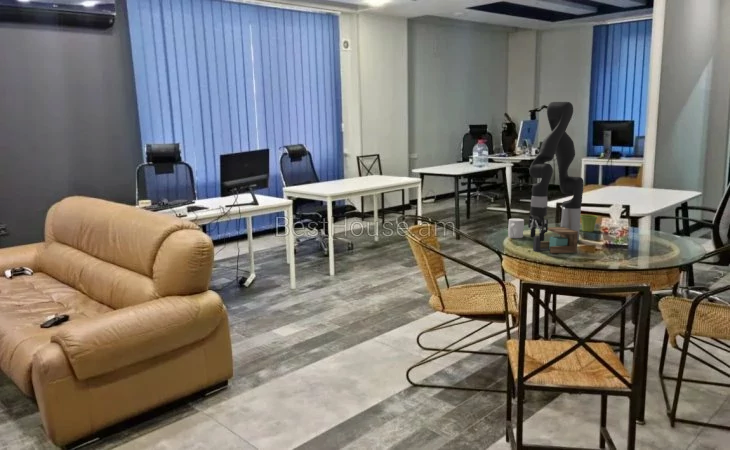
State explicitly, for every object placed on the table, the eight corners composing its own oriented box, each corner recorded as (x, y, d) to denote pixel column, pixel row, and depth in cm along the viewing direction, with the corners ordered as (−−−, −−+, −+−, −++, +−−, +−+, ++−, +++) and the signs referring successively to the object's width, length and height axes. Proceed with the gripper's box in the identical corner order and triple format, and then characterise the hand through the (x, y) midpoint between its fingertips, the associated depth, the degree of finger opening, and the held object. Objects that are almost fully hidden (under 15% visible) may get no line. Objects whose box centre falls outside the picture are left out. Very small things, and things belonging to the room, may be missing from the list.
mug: (512, 217, 307) (526, 219, 303) (511, 234, 309) (525, 235, 305) (504, 220, 298) (519, 222, 293) (503, 238, 299) (518, 239, 295)
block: (531, 249, 271) (532, 235, 270) (560, 248, 274) (561, 234, 272) (537, 252, 265) (538, 238, 264) (567, 251, 268) (567, 236, 267)
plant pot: (575, 230, 321) (576, 215, 319) (589, 229, 323) (590, 214, 322) (586, 233, 312) (587, 217, 310) (600, 232, 315) (601, 216, 313)
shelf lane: (538, 247, 275) (539, 227, 273) (562, 246, 277) (563, 226, 276) (551, 253, 263) (552, 232, 261) (576, 252, 265) (577, 231, 263)
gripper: (524, 203, 270) (522, 236, 273) (539, 207, 257) (537, 242, 259) (538, 203, 272) (537, 236, 274) (554, 207, 258) (551, 241, 261)
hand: (537, 239), depth 267 cm, fingers open, 8 cm apart
